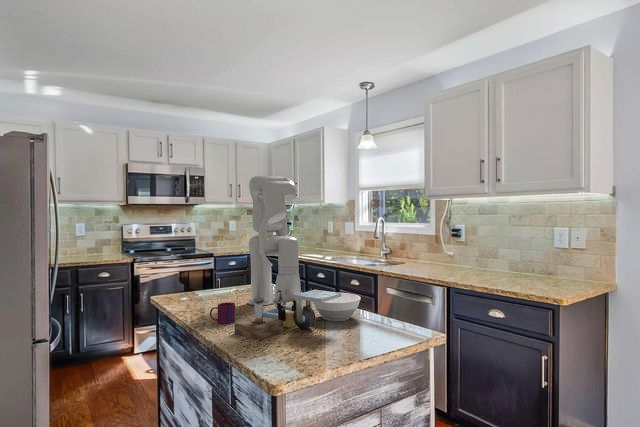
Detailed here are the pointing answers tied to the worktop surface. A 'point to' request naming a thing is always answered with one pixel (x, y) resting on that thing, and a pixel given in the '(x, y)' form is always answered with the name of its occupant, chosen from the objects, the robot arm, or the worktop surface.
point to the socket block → (258, 328)
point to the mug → (225, 313)
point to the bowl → (338, 307)
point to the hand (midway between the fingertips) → (288, 317)
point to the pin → (259, 310)
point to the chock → (289, 319)
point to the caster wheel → (310, 306)
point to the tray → (274, 312)
